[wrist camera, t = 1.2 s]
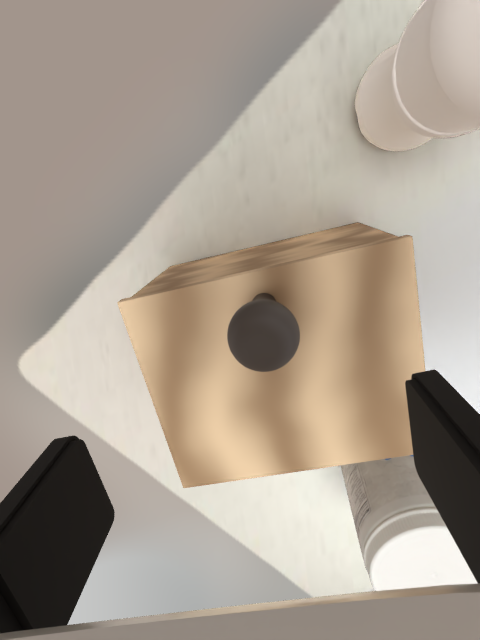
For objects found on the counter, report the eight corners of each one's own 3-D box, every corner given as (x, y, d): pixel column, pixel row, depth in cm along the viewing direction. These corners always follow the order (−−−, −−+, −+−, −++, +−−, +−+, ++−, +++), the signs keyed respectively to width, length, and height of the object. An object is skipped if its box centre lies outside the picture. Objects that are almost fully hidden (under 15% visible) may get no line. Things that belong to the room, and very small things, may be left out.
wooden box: (358, 222, 34) (403, 238, 22) (378, 369, 38) (425, 444, 27) (170, 266, 36) (126, 301, 25) (210, 399, 41) (188, 479, 30)
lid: (407, 234, 22) (476, 256, 15) (428, 444, 27) (489, 540, 20) (121, 299, 25) (61, 345, 18) (185, 480, 30) (158, 576, 22)
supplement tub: (430, 408, 39) (518, 527, 26) (420, 481, 43) (494, 622, 29) (336, 409, 40) (372, 524, 26) (333, 480, 43) (365, 617, 29)
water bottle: (338, 76, 30) (591, -324, 7) (430, 39, 29) (1132, -607, 5) (359, 166, 32) (608, 105, 9) (445, 136, 31) (1002, -31, 8)
